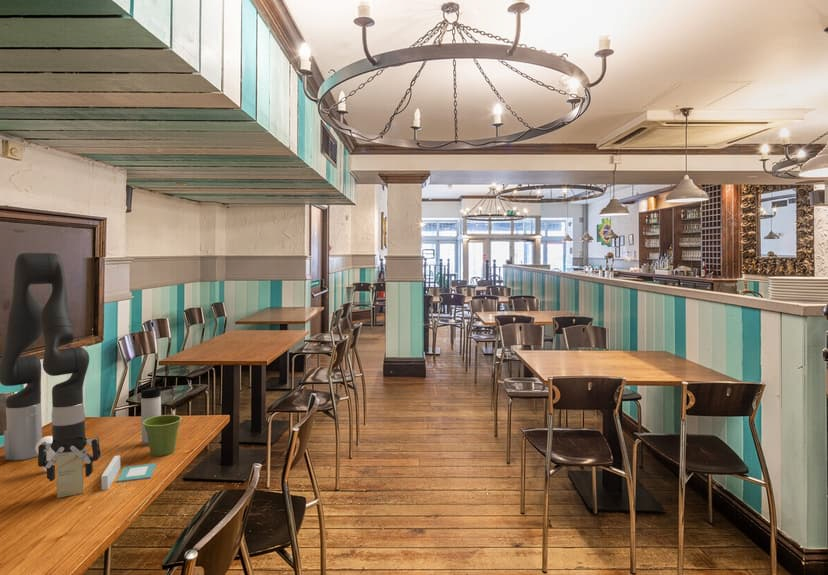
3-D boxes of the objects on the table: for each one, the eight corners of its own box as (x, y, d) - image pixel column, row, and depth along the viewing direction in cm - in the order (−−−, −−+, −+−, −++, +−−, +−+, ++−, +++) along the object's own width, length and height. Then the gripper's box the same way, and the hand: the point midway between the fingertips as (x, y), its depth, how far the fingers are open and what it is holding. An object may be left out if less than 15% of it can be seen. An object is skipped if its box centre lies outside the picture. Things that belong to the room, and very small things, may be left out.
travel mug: (157, 445, 178) (155, 389, 177) (138, 445, 178) (137, 389, 177) (166, 439, 184) (164, 385, 183) (148, 439, 184) (146, 385, 183)
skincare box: (56, 498, 138) (55, 454, 137) (57, 492, 141) (55, 449, 141) (84, 492, 141) (83, 449, 141) (84, 487, 145) (82, 445, 144)
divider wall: (101, 490, 143) (101, 476, 143) (115, 468, 158) (114, 456, 158) (107, 489, 143) (107, 475, 143) (120, 467, 158) (120, 455, 158)
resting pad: (116, 482, 148) (116, 480, 148) (124, 468, 158) (124, 466, 158) (150, 478, 151) (150, 476, 151) (156, 464, 161) (156, 462, 161)
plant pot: (138, 460, 164) (137, 426, 164) (148, 448, 176) (148, 415, 175) (178, 457, 167) (177, 423, 166) (185, 445, 179) (184, 413, 178)
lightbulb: (65, 469, 158) (64, 434, 157) (45, 477, 152) (44, 440, 151) (51, 466, 160) (50, 432, 159) (31, 474, 154) (30, 438, 153)
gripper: (32, 427, 135) (34, 487, 135) (94, 421, 139) (96, 479, 140) (43, 419, 142) (45, 476, 142) (101, 414, 146) (103, 469, 147)
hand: (70, 477), depth 141 cm, fingers open, 8 cm apart
